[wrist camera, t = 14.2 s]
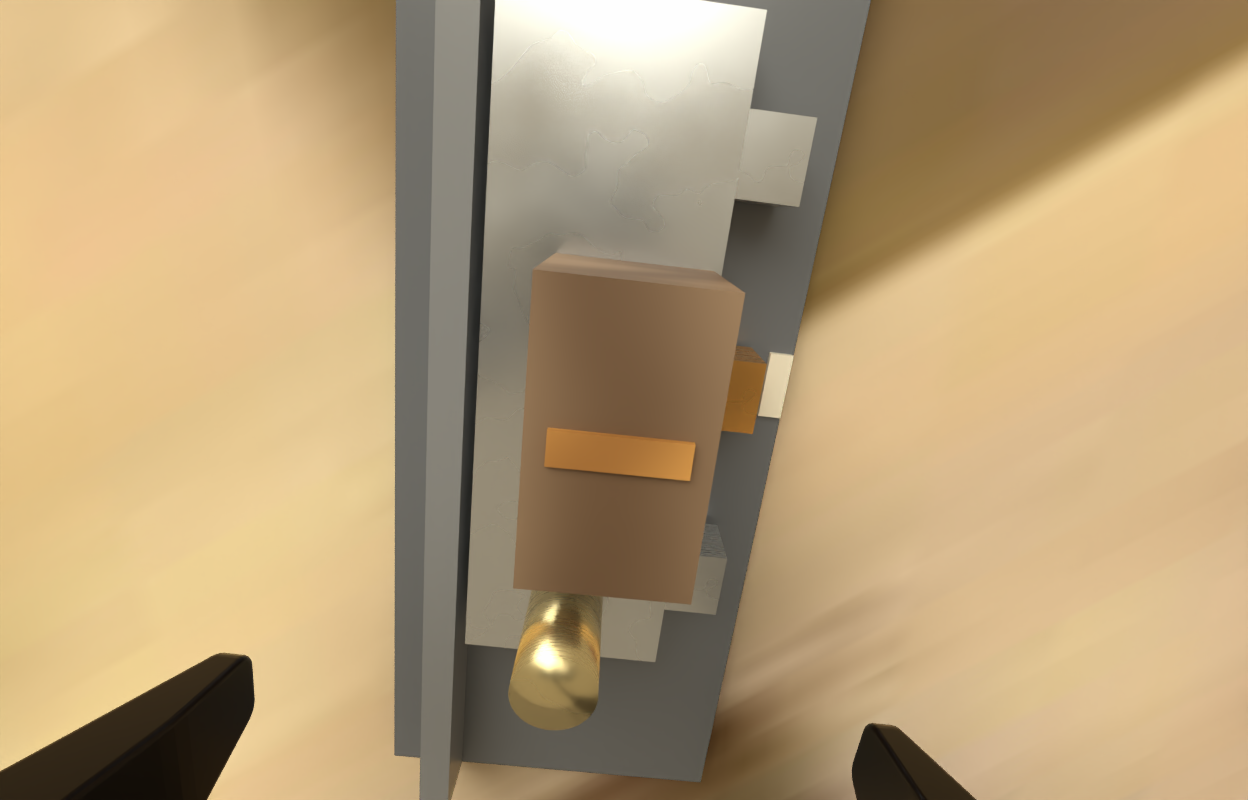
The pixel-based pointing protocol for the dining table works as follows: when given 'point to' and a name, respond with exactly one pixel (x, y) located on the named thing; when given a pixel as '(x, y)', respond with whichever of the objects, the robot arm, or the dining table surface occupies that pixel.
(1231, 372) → the dining table surface
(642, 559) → the marked link
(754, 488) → the guide plate
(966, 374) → the dining table surface
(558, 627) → the toothed rack
